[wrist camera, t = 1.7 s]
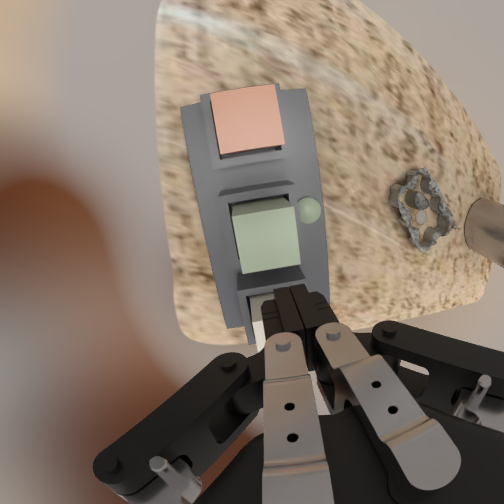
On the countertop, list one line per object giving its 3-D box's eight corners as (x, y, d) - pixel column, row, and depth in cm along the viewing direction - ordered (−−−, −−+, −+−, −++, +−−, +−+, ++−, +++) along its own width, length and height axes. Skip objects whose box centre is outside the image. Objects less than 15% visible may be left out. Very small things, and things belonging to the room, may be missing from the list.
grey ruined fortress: (442, 223, 34) (459, 230, 30) (409, 251, 35) (424, 262, 32) (417, 161, 31) (435, 164, 27) (380, 190, 32) (396, 195, 28)
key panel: (302, 91, 28) (316, 78, 22) (326, 304, 37) (340, 329, 31) (182, 109, 28) (170, 99, 22) (227, 322, 37) (226, 349, 32)
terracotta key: (266, 99, 24) (274, 84, 18) (274, 147, 26) (285, 144, 20) (216, 107, 24) (209, 93, 18) (224, 154, 26) (220, 154, 20)
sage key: (282, 195, 27) (293, 206, 22) (288, 242, 29) (300, 264, 23) (233, 204, 27) (231, 216, 22) (241, 250, 29) (242, 274, 23)
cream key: (293, 284, 31) (305, 313, 25) (297, 320, 32) (307, 352, 27) (249, 292, 31) (252, 322, 25) (256, 328, 32) (260, 360, 27)
